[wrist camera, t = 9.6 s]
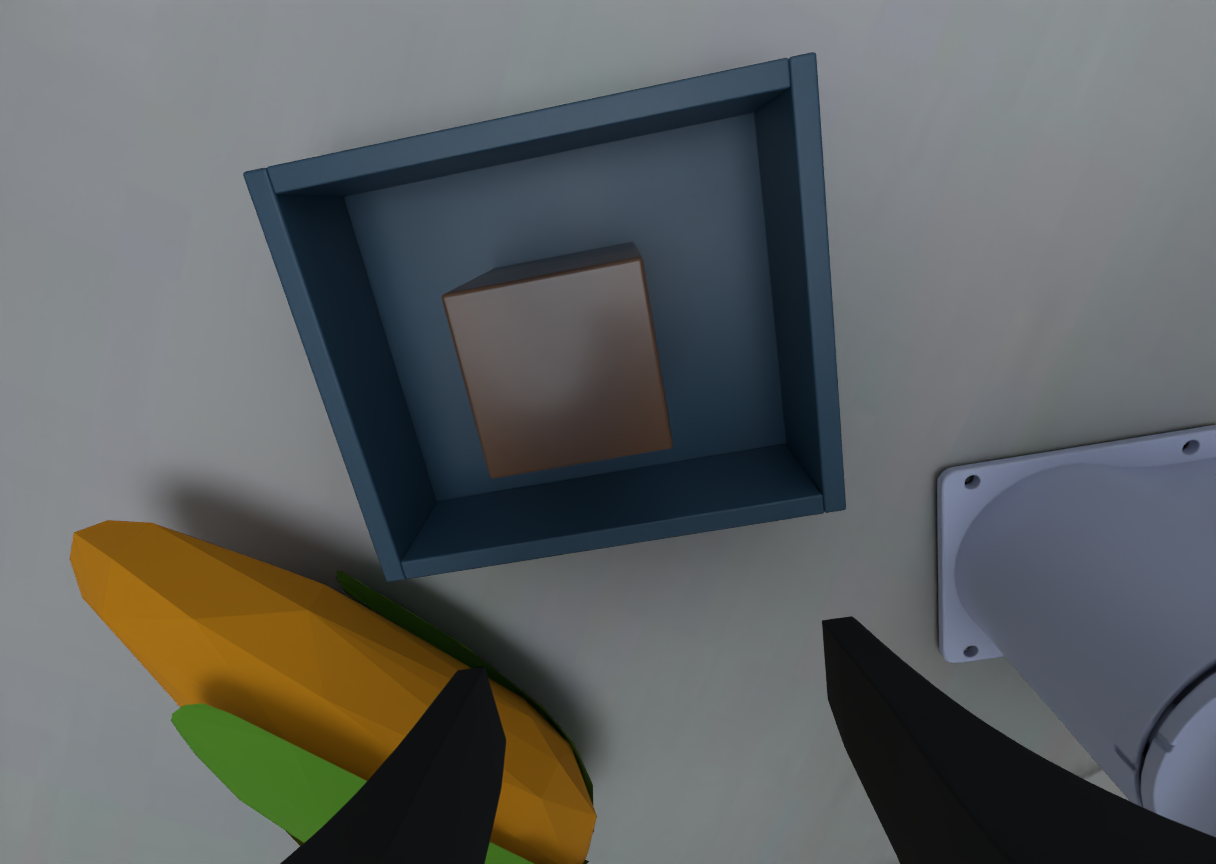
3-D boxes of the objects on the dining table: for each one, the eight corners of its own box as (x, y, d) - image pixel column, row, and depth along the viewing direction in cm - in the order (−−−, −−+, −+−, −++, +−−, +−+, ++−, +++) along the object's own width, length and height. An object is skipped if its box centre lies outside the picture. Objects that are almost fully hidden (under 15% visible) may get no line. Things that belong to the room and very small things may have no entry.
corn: (499, 1045, 20) (-128, 718, 16) (521, 832, 27) (96, 569, 23) (654, 910, 19) (11, 511, 14) (634, 723, 26) (203, 421, 22)
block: (634, 241, 19) (642, 256, 13) (657, 381, 20) (674, 450, 15) (491, 268, 19) (438, 295, 13) (524, 405, 21) (489, 480, 15)
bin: (769, 87, 18) (816, 51, 14) (801, 450, 22) (846, 510, 17) (325, 179, 19) (240, 172, 15) (429, 512, 22) (385, 583, 18)
